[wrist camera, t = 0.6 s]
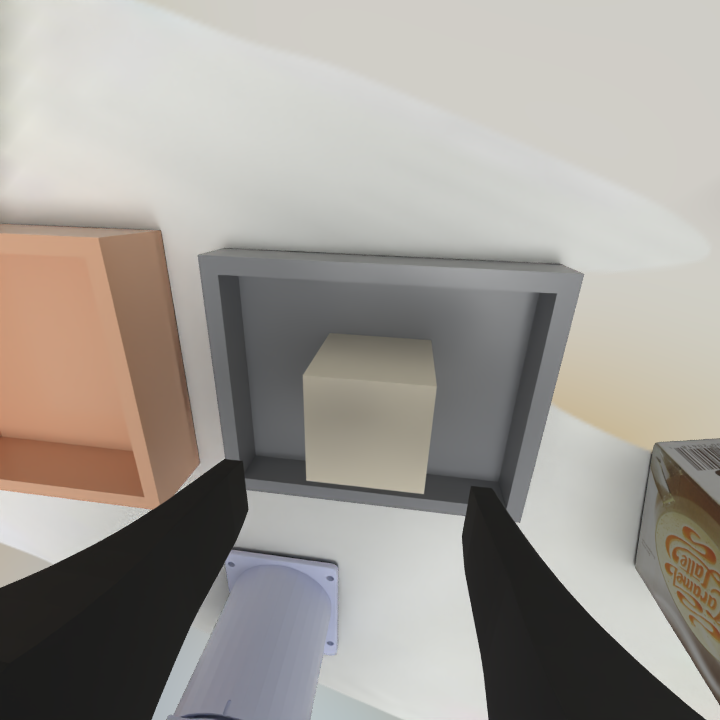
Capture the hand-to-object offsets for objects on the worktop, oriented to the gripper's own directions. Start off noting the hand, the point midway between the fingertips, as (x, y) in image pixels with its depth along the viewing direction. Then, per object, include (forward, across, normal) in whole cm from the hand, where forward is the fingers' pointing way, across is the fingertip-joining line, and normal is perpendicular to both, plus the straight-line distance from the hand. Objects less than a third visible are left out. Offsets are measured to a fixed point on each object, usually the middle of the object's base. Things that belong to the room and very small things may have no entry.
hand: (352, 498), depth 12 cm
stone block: (+8, 0, 0) cm, 8 cm away
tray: (+9, 0, 0) cm, 9 cm away
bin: (+9, +18, 0) cm, 20 cm away
